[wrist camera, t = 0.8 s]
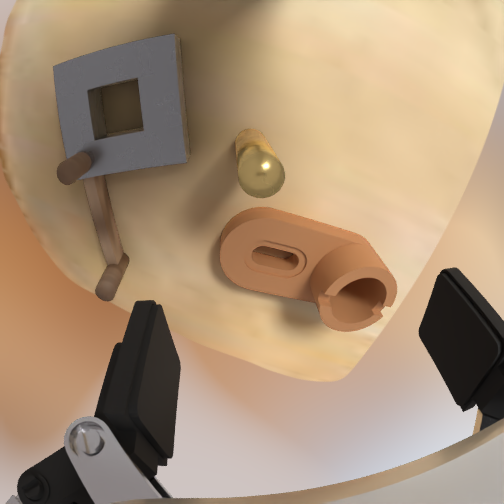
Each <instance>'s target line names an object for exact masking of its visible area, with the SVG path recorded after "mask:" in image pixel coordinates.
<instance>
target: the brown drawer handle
mask: <svg viewBox="0 0 504 504" xmlns="http://www.w3.org/2000/svg"><path fill="white" fill-rule="evenodd" d="M90 168H91V158H90V157H89V155H88V154H87V153H85V152H78V153H77V154H75V155H73V156H72V157H70V158H68V159H67V160H65V161H63V162H62V163H60V164H59V166H58V168H57V177H58V179H59V180H60V182H61V183H63V184H65V185H70V184H72V183H74V182H75V181H76V180H77V179H79V178H80V177H81V176H83V175H84V174H85V173H86V172H88V171H89V169H90ZM83 182H84V186H85V190H86V194H87V198H88V202H89V206H90V210H91V213H92V217H93V220H94V224H95V227H96V231H97V234H98V237H99V241H100V244H101V247H102V250H103V253H104V256H105V259H106V262H107V265H108V266H107V268H106V269H105V271H104V273H103V275H102V277H101V279H100V281H99V283H98V285H97V287H96V289H95V292H96V295H97V296H98V297H99V298H100V299H102V300H103V301H111V300H112V299H113V298H114V296H115V293H116V291H117V289H118V286H119V284H120V282H121V279H122V277H123V275H124V273H125V270H126V268H127V266H128V264H129V257H128V256H127V255H126V254H125V253H124V252H123V248H122V245H121V241H120V238H119V234H118V230H117V227H116V223H115V219H114V215H113V211H112V207H111V203H110V199H109V194H108V190H107V186H106V181H105V176H104V175H101V176H95V177H90V178H85V179H83Z"/></svg>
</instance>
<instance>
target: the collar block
mask: <svg viewBox="0 0 504 504" xmlns="http://www.w3.org/2000/svg"><path fill="white" fill-rule="evenodd" d="M53 71H54V81H55V91H56V99H57V106H58V113H59V120H60V126H61V132H62V137H63V143H64V148H65V153H66V158H67V159H68V158H70V157H72V156H73V155H75V154H77V153H78V152H85V153H87V154H88V155H89V157H90V158H91V168H90V169H89V171H88V172H86V173H85V174H84V175H83V176H81V177H80V178H79V179H77V180H80V179H85V178H90V177H95V176H101V175H106V174H112V173H118V172H124V171H130V170H136V169H143V168H150V167H157V166H165V165H172V164H181V163H187V161H188V159H189V157H190V155H191V152H190V143H189V134H188V125H187V115H186V105H185V94H184V83H183V70H182V57H181V43H180V38H179V37H178V36H177V35H175V34H169V35H164V36H158V37H153V38H148V39H143V40H139V41H134V42H130V43H126V44H122V45H118V46H114V47H110V48H107V49H103V50H100V51H96V52H93V53H90V54H87V55H83V56H80V57H77V58H74V59H72V60H69V61H66V62H63V63H61V64H58V65H55V66H53ZM133 80H138V85H139V94H140V103H141V111H142V119H143V127H142V128H136V129H130V130H125V131H120V132H115V133H110V134H107V132H106V125H105V118H104V111H103V104H102V96H101V88H103V87H107V86H111V85H115V84H119V83H124V82H128V81H133Z"/></svg>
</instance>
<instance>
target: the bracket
mask: <svg viewBox="0 0 504 504" xmlns="http://www.w3.org/2000/svg"><path fill="white" fill-rule="evenodd" d="M259 246H267V247H271V248H275V249H279V250H283V251H287V252H291V253H293V255H292V256H291V257H289V258H285V259H282V258H278V257H274V256H270V255H266V254H261V253H257V252H255V251H253V250H254V249H255V248H257V247H259ZM220 263H221V266H222V269H223V271H224V273H225V274H226V276H227V277H228V278H229V279H230V280H231V281H232V282H234V283H235V284H237V285H238V286H241V287H243V288H246V289H250V290H254V291H259V292H264V293H269V294H274V295H278V296H283V297H288V298H293V299H298V300H304V301H309V302H314V303H316V305H317V308H318V310H319V313H320V316H321V319H322V321H323V322H324V323H325V324H326V325H327V326H328V327H329V328H331V329H334V330H337V331H343V332H349V331H356V330H360V329H363V328H366V327H368V326H370V325H372V324H373V323H375V322H377V321H378V320H379V319H381V318H382V317H383V315H382V313H381V312H380V311H381V310H382V309H383V308H384V307H385V306H387V307H391V306H392V305H393V303H394V300H395V298H396V294H397V284H396V281H395V278H394V277H393V275H392V274H391V272H390V271H389V270H388V268H387V267H386V265H385V264H384V263H383V261H382V260H381V258H380V257H379V256H378V254H377V253H376V252H375V250H374V249H373V247H372V246H371V245H370V243H369V242H368V241H367V240H366V239H365V238H364V237H363V236H361V235H359V234H356V233H353V232H350V231H347V230H344V229H341V228H337V227H334V226H331V225H328V224H324V223H321V222H318V221H314V220H311V219H308V218H304V217H301V216H297V215H294V214H291V213H287V212H284V211H280V210H277V209H273V208H267V207H256V208H251V209H247V210H245V211H242V212H241V213H239V214H237V215H236V216H234V217H233V218H232V219H231V220H230V221H229V222H228V223H227V225H226V226H225V228H224V230H223V232H222V235H221V240H220Z"/></svg>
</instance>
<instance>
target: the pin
mask: <svg viewBox="0 0 504 504" xmlns="http://www.w3.org/2000/svg"><path fill="white" fill-rule="evenodd" d="M235 148H236V158H237V168H238V178H239V183H240V186H241V187H242V189H243V190H244V191H245V192H246V193H247V194H248V195H250V196H253V197H256V198H266V197H270V196H272V195H274V194H275V193H277V192H278V191H279V190H280V189H281V187H282V185H283V183H284V180H285V172H284V168H283V166H282V164H281V162H280V161H279V159H278V158H277V156H276V154H275V153H274V151H273V150H272V148H271V146H270V145H269V143H268V142H267V140H266V138H265V137H264V135H263V134H262V133H261V132H260V131H258V130H255V129H247V130H244V131H242V132H241V133H240V134H239V135H238V136H237V138H236V141H235Z"/></svg>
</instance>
